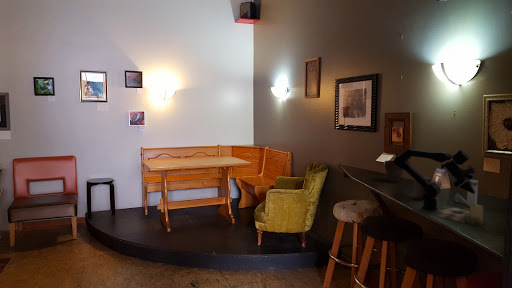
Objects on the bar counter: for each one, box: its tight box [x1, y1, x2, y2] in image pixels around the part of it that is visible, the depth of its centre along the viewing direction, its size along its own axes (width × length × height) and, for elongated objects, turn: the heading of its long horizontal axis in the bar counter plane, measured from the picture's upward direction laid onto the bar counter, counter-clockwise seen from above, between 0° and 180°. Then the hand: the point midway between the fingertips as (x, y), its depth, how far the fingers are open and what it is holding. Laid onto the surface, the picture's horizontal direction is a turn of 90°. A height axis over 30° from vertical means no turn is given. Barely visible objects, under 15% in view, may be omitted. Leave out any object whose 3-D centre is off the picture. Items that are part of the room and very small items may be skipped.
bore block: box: [437, 207, 470, 224], centre depth 216 cm, size 14×14×3 cm
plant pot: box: [384, 160, 404, 184], centre depth 311 cm, size 15×15×16 cm
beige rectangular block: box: [468, 203, 484, 227], centre depth 203 cm, size 6×6×10 cm
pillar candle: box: [413, 176, 432, 201], centre depth 258 cm, size 10×10×15 cm
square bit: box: [466, 179, 479, 205], centre depth 218 cm, size 4×4×13 cm
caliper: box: [454, 192, 471, 208], centre depth 240 cm, size 20×1×6 cm, turn 6°
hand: (475, 192), depth 217 cm, fingers closed on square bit, 4 cm apart
